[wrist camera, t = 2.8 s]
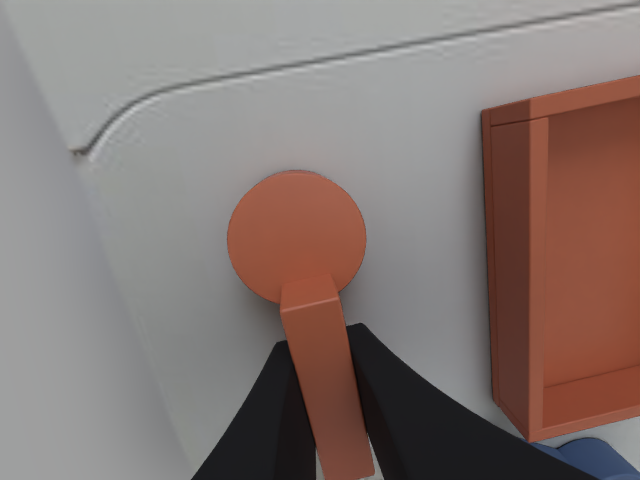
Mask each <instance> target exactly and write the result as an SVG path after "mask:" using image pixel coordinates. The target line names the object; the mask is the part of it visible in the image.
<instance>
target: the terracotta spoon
mask: <svg viewBox="0 0 640 480" xmlns="http://www.w3.org/2000/svg"><path fill="white" fill-rule="evenodd" d="M227 246H228V253H229V257H230V260H231V263H232V265H233V268H234V269H235V271H236V273H237V275H238V276H239V277H240V279H241V280H242V281H243V282H244V284H245V285H246V286H247V287H248V288H249V289H251V290H252V291H253V292H254V293H256V294H257V295H259V296H261V297H262V298H264V299H266V300H269V301H271V302H274V303H277V304H280V311H279V313H280V316H281V320H282V324H283V327H284V331H285V335H286V338H287V342H288V346H289V350H290V353H291V357H292V361H293V364H294V368H295V372H296V375H297V379H298V383H299V386H300V390H301V394H302V397H303V401H304V405H305V408H306V412H307V416H308V419H309V423H310V427H311V430H312V434H313V438H314V441H315V445H316V449H317V452H318V456H319V460H320V463H321V467H322V471H323V474H324V478H325V480H357V479H361V478H365V477H369V476H373V475H374V474H375V469H374V464H373V459H372V454H371V449H370V444H369V439H368V434H367V429H366V424H365V419H364V414H363V409H362V404H361V400H360V395H359V390H358V385H357V380H356V375H355V370H354V365H353V360H352V355H351V350H350V345H349V340H348V335H347V330H346V325H345V320H344V315H343V311H342V306H341V301H340V297H339V294H338V292H340V291H341V290H342V289H343V288H344V287H346V286H347V285H348V284H349V282H350V281H351V280H352V279H353V278H354V276H355V274H356V273H357V271H358V270H359V267H360V265H361V263H362V260H363V257H364V254H365V248H366V229H365V225H364V220H363V218H362V215H361V212H360V210H359V209H358V207H357V205H356V203H355V202H354V201H353V199H352V198H351V197H350V196H349V195H348V194H347V193H346V192H345V191H344V190H343V189H342V188H341V187H339V186H338V185H337V184H335V183H334V182H332V181H330V180H329V179H327V178H325V177H323V176H321V175H319V174H316V173H313V172H309V171H303V170H289V171H283V172H279V173H276V174H274V175H271V176H269V177H267V178H266V179H264V180H262V181H261V182H260V183H258V184H257V185H256V186H254V187H253V188H252V189H251V190H249V191H248V192H247V193H246V194H245V196H244V197H243V198H242V199H241V200H240V202H239V203H238V205H237V206H236V208H235V210H234V212H233V214H232V216H231V219H230V222H229V227H228V232H227Z"/></svg>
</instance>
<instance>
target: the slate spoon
mask: <svg viewBox="0 0 640 480" xmlns="http://www.w3.org/2000/svg"><path fill="white" fill-rule="evenodd" d="M517 438H518V437H517ZM519 439H521V438H519ZM521 440H523V441H524V442H526V443H528V444H530V445H532V446H534V447H536V448H537V449H539V450H541V451H543V452H545V453H547V454H549V455H551V456H553V457H555V458H557V459H559V460H561V461H563V462H565V463H567V464H569V465H571V466H573V467H575V468H578V469H580V470H582V471H584V472H586V473H588V474H590V475H592V476H594V477H596V478H598V479H601V480H640V472H638V471H637V470H636V469H635V468H634V467H633V466H632V465H631V464H630V463H628V462H627V461H626V460H625V459H624V458H623V457H622V456H621V455H620V454H619V453H617V452H616V451H615V450H614V449H613V448H612V447H611V446H610V445H609V444H607V443H606V442H604V441H602V440H599V439H594V438H585V439H579V440H575V441H572V442H570V443H568V444H565V445H564V446H562V447H560V448H559V449H554V448H551V447H548V446H544V445H541V444H538V443H534V442H532V443H529V442H528V441H527V440H524V439H521Z"/></svg>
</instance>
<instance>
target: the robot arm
mask: <svg viewBox="0 0 640 480" xmlns="http://www.w3.org/2000/svg"><path fill="white" fill-rule="evenodd" d="M346 330H347V335H348V340H349V345H350V350H351V355H352V360H353V365H354V370H355V375H356V380H357V385H358V390H359V395H360V400H361V404H362V409H363V414H364V419H365V424H366V429H367V433H368V435H369V438H370V441H371V444H372V447H373V449H374V452H375V455H376V458H377V461H378V463H379V466H380V469H381V472H382V474H383V477H384V480H601V479H598V478H596V477H594V476H592V475H590V474H588V473H586V472H584V471H582V470H580V469H578V468H575V467H573V466H571V465H569V464H567V463H565V462H563V461H561V460H559V459H557V458H555V457H553V456H551V455H549V454H547V453H545V452H543V451H541V450H539V449H537V448H536V447H534V446H532V445H530V444H528V443H526V442H524V441H523V440H521V439H519V438H517V437H515V436H513V435H512V434H510V433H508V432H506V431H504V430H502V429H500V428H499V427H497V426H495V425H493V424H492V423H490V422H488V421H487V420H485V419H483V418H482V417H480V416H478V415H477V414H475V413H473V412H472V411H470V410H469V409H467V408H466V407H464V406H462V405H461V404H459V403H458V402H456V401H455V400H453V399H452V398H450V397H449V396H447V395H446V394H444V393H443V392H442V391H440V390H439V389H437V388H436V387H435V386H433V385H432V384H431V383H429V382H428V381H427V380H425V379H424V378H423V377H421V376H420V375H419V374H417V373H416V372H415V371H414V370H413V369H411V368H410V367H409V366H408V365H406V364H405V363H404V362H403V361H402V360H401V359H399V358H398V357H397V356H396V355H395V354H394V353H392V352H391V351H390V350H389V349H388V348H387V347H386V346H385V345H384V344H383V343H382V342H381V341H380V340H379V339H378V338H377V337H376V336H375V335H374V334H373V333H372V332H371V331H370V330H369V329H368V328H367V327H366V325H364V324H362V323H359V324H354V325H350V326H346ZM191 480H316V446H315V441H314V438H313V434H312V430H311V427H310V423H309V419H308V416H307V412H306V408H305V405H304V401H303V397H302V394H301V390H300V386H299V383H298V379H297V375H296V372H295V368H294V364H293V361H292V357H291V353H290V350H289V346H288V342H287V340H285V341H281V342H277V343H276V344H275V346H274V347H273V349H272V351H271V353H270V355H269V357H268V359H267V361H266V363H265V365H264V367H263V369H262V371H261V373H260V375H259V377H258V378H257V380H256V382H255V384H254V386H253V387H252V389H251V391H250V393H249V394H248V396H247V398H246V400H245V401H244V403H243V405H242V406H241V408H240V409H239V411H238V413H237V414H236V416H235V417H234V419H233V421H232V422H231V424H230V425H229V427H228V428H227V430H226V432H225V433H224V435H223V436H222V438H221V439H220V440H219V442H218V443H217V445H216V446H215V448H214V449H213V451H212V452H211V453H210V455H209V456H208V458H207V459H206V460H205V462H204V463H203V464H202V466H201V467H200V468H199V470H198V471H197V472H196V474H195V475H194V476H193V478H192V479H191Z"/></svg>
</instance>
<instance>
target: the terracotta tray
mask: <svg viewBox="0 0 640 480" xmlns="http://www.w3.org/2000/svg"><path fill="white" fill-rule="evenodd" d="M482 134H483V159H484V184H485V208H486V233H487V258H488V283H489V308H490V333H491V358H492V382H493V400H494V402H495V403H496V404H497V405H498V407H500V409H501V410H502V411H503V412H504V414H505V415H506V416H507V417H508V418H509V420H510V421H511V422H512V423H513V425H514V426H515V427H516V428H517V429H518V431H519V432H520V433H521V434H522V435H523V437H524V438H525V439H526V440H527V441H528V442H529V443H532V442H536V441H540V440H544V439H548V438H552V437H556V436H561V435H565V434H569V433H573V432H577V431H581V430H585V429H589V428H593V427H597V426H601V425H605V424H609V423H613V422H617V421H621V420H625V419H629V418H633V417H637V416H640V75H638V76H633V77H628V78H624V79H619V80H614V81H609V82H605V83H600V84H595V85H590V86H585V87H581V88H576V89H571V90H566V91H562V92H557V93H552V94H547V95H543V96H538V97H533V98H529V99H525V100H521V101H517V102H512V103H508V104H504V105H500V106H496V107H493V108H488V109H484V110H482Z"/></svg>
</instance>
